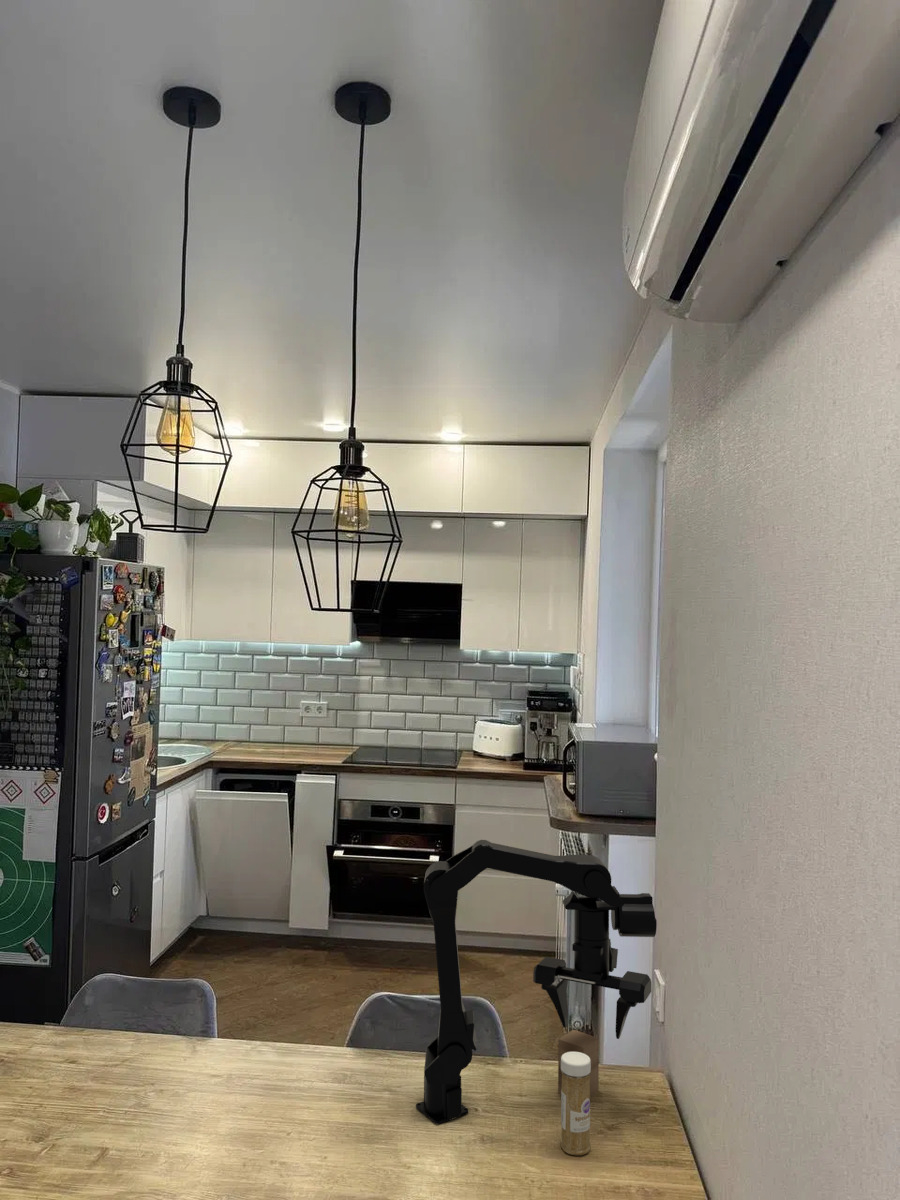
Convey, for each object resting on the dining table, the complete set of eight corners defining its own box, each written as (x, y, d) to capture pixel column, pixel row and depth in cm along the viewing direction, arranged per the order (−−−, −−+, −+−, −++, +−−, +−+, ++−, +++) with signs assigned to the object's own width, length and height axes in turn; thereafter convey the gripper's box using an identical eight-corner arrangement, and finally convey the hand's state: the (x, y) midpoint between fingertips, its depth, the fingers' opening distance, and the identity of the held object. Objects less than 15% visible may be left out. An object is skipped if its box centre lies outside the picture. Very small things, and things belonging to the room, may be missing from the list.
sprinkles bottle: (584, 1160, 126) (584, 1066, 127) (555, 1151, 128) (556, 1059, 129) (594, 1145, 130) (595, 1054, 131) (567, 1136, 132) (567, 1047, 133)
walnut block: (558, 1093, 145) (558, 1039, 146) (573, 1082, 149) (573, 1029, 150) (583, 1103, 142) (583, 1047, 143) (598, 1091, 146) (598, 1038, 146)
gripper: (658, 930, 144) (659, 1025, 143) (554, 914, 152) (553, 1003, 151) (643, 950, 134) (643, 1052, 133) (532, 932, 142) (531, 1027, 141)
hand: (591, 1032), depth 140 cm, fingers open, 9 cm apart
